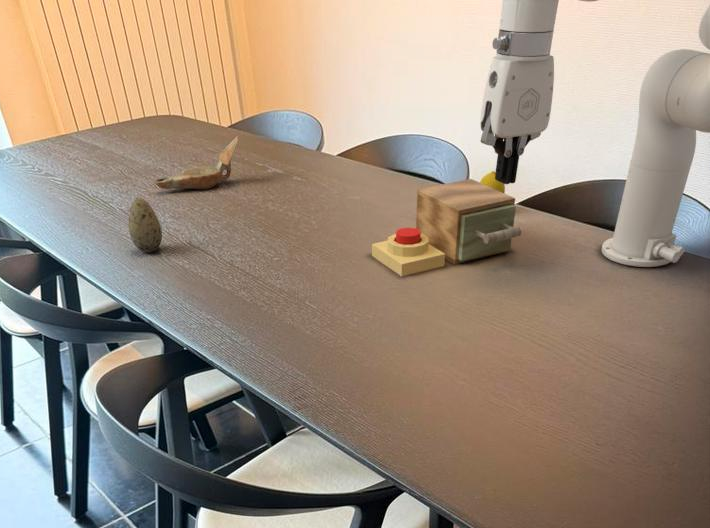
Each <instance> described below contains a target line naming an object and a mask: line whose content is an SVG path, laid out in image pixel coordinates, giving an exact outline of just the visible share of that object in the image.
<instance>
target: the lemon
mask: <svg viewBox="0 0 710 528" xmlns="http://www.w3.org/2000/svg"><path fill="white" fill-rule="evenodd" d="M495 173H496V170H495V171H494V170H491V172H488V173H487V174H485V175H484V176H483V177H482V178H481V180H480V181H479V183H482V184H484V185H486V186H488V187H491V188H493V189H495V190H497V191H500V192H502V193H504V194H506V193H505V191H506V186H505V185H506V184H504V183H501V182H499V181H496V180H495Z"/></svg>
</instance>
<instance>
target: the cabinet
mask: <svg viewBox="0 0 710 528" xmlns="http://www.w3.org/2000/svg"><path fill="white" fill-rule="evenodd" d="M416 191H417V193H416V213H415V214H416V217H415V222H416V223H415V228H416V229H418V230H420V232H421V234H423V235H425V236H427V237H428V241H429V243H428V244H429V245H431V246H433V247H434V248H436V249H438V250H439V251H441V252H443V253H444V254H445V260H447V261H448V262H450V263H451V264H453V265H457V264H461V263H466V262H470V261H474V260H477V259H478V260H479V259H482V258H486V257H491V256H494V255H499V254H503V253H506V252H509V250H505V251H501V252H497V253H493V254H489V255H485V256H480V257H476V258H472V259H468V260H464V261H460V260H459V259H458V251H459V238H460V226H461V215H462V214H466V213H470V212H475V211H479V210H484V209H489V208H493V207H498V206H502V205H504V206H507V205H511V204H512V205H515V204H516V198H515V197H513V196H511V195H509V194H506V193H502V192H500V191H497V190H495V189H493V188H491V187H488V186H486V185H484V184H482V183H480V181H477V180H475V179H473V178H469V179H463V180H458V181H452V182H448V183H443V184H439V185H434V186H428V187H423V188H418V189H417V190H416Z"/></svg>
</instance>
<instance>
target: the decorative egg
mask: <svg viewBox="0 0 710 528" xmlns="http://www.w3.org/2000/svg"><path fill="white" fill-rule="evenodd" d="M128 232H129V233H128V234H129V236H130V239H131V242H132V243H133V245H134V246H135V247H136V248H137V249H139V250H140V251H141V252H144V253H153V252H154V251H157V249H158V248H159V247H160V246H161V245H162V244H161V243H162V240H163V231H162V227H161V223H160V221H159V218H158V216H157V213H156V212H155V211H154V208H152V206H151V205H150V204H149V202H148V201H147V200H146V199H144V198H143V197H136V198H135V199H134V200H132V202H131V204H130V207H129V213H128Z"/></svg>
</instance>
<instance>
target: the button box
mask: <svg viewBox="0 0 710 528" xmlns="http://www.w3.org/2000/svg"><path fill="white" fill-rule="evenodd" d="M428 243H429V241H428V237H427V236H425V235H423V234H421V236H420V242H419V243H417V244H413V245H403V244H398V243H397V242H396V233H393V234H391V235H390V236H388V237H387V240H383V241H379V242H374V243H371V257H373V258H375V259H376V260H377V261H378V262H380V263H381V264H383V265H384V266H386V267H387V268H389V269H390V270H392V271H393V272H395V273H396V274H397V275H399V276H400V277H405V276H409V275H413V274H418V273H421V272H422V273H423V272H426V271H429V270H434V269H438V268H442V267H445V264H446V263H445V262H446V261H445V260H446V259H445V254H444V253H443V252H441V251H439V250H438V249H436V248H434V247H433V246H431V245H429V244H428Z"/></svg>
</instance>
